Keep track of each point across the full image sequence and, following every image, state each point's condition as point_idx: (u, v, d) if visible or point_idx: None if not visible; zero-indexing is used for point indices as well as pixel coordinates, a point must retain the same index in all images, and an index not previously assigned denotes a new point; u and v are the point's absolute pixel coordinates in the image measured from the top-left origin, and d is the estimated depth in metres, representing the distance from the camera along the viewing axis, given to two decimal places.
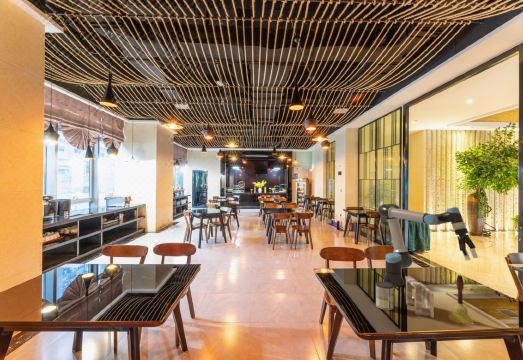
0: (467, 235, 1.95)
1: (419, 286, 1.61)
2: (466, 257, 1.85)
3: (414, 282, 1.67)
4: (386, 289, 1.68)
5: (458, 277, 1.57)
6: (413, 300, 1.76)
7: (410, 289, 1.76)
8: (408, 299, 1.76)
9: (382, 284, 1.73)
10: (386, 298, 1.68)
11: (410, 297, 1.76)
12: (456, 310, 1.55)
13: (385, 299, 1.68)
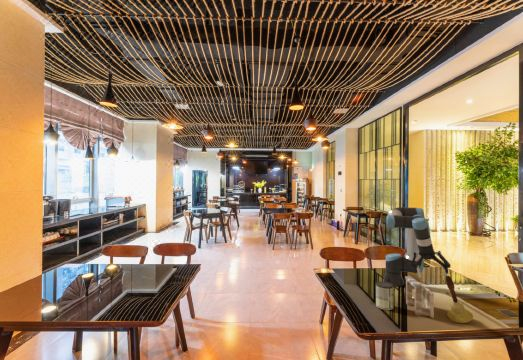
0: (437, 253, 1.55)
1: (419, 286, 1.61)
2: None
3: (414, 282, 1.67)
4: (386, 289, 1.68)
5: (447, 279, 1.53)
6: (413, 300, 1.76)
7: (410, 289, 1.76)
8: (408, 299, 1.76)
9: (382, 284, 1.73)
10: (386, 298, 1.68)
11: (410, 297, 1.76)
12: (454, 310, 1.54)
13: (385, 299, 1.68)
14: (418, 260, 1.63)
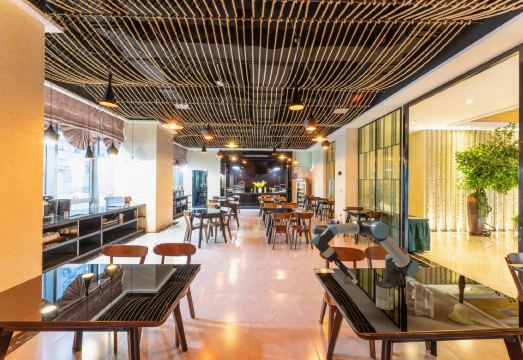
0: (336, 264, 1.74)
1: (419, 286, 1.61)
2: None
3: (414, 282, 1.67)
4: (386, 289, 1.68)
5: (460, 277, 1.57)
6: (413, 300, 1.76)
7: (410, 289, 1.76)
8: (408, 299, 1.76)
9: (382, 284, 1.73)
10: (386, 298, 1.68)
11: (410, 297, 1.76)
12: (456, 310, 1.55)
13: (385, 299, 1.68)
14: None
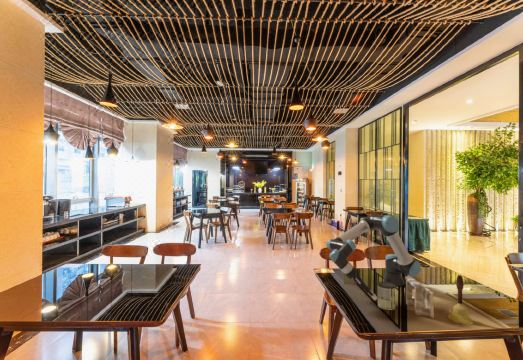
0: (357, 282, 1.71)
1: (419, 286, 1.61)
2: None
3: (414, 282, 1.67)
4: (388, 289, 1.68)
5: (458, 277, 1.57)
6: (413, 300, 1.76)
7: (410, 289, 1.76)
8: (408, 299, 1.76)
9: (384, 284, 1.73)
10: (388, 298, 1.68)
11: (410, 297, 1.76)
12: (455, 310, 1.56)
13: (387, 299, 1.68)
14: None
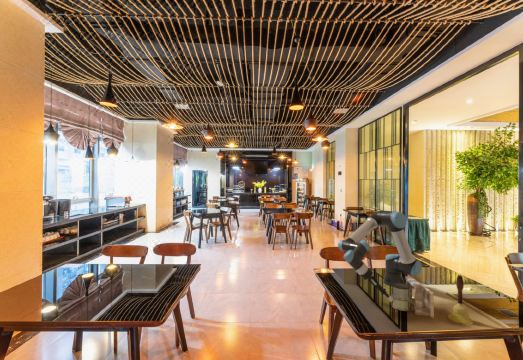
0: (373, 283, 1.69)
1: (419, 286, 1.61)
2: None
3: (414, 282, 1.67)
4: (405, 290, 1.67)
5: (458, 277, 1.57)
6: (413, 300, 1.76)
7: (410, 289, 1.76)
8: None
9: (399, 285, 1.72)
10: (405, 299, 1.67)
11: (410, 297, 1.76)
12: (455, 310, 1.56)
13: (405, 300, 1.67)
14: None
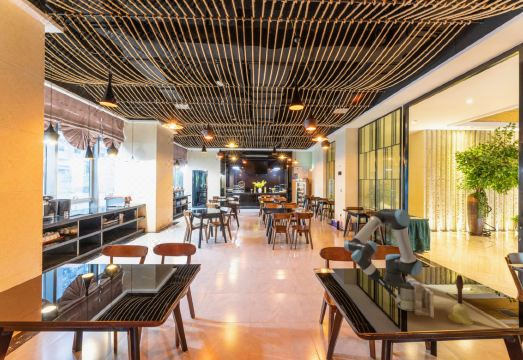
0: (381, 283, 1.68)
1: (419, 286, 1.61)
2: None
3: (414, 282, 1.67)
4: None
5: (457, 277, 1.58)
6: None
7: None
8: None
9: (406, 285, 1.71)
10: (414, 299, 1.67)
11: None
12: (455, 310, 1.56)
13: (413, 300, 1.67)
14: None
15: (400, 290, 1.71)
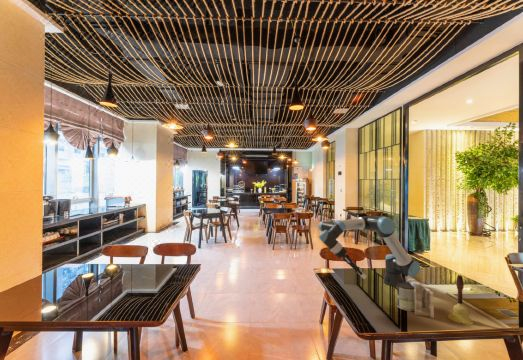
0: (346, 261, 1.73)
1: (419, 286, 1.61)
2: None
3: (414, 282, 1.67)
4: (412, 290, 1.68)
5: (458, 277, 1.57)
6: None
7: None
8: None
9: (405, 285, 1.72)
10: (412, 299, 1.67)
11: None
12: (455, 310, 1.56)
13: (412, 300, 1.67)
14: None
15: (399, 290, 1.72)
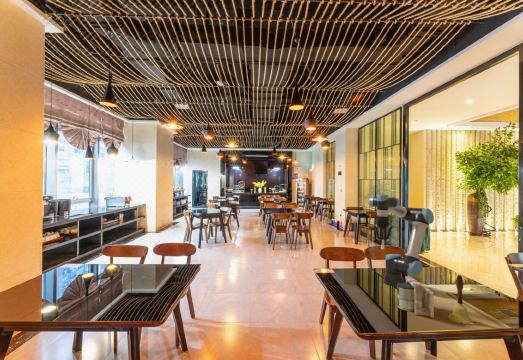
0: (390, 226, 1.93)
1: (419, 286, 1.61)
2: (381, 246, 1.95)
3: (414, 282, 1.67)
4: (412, 290, 1.68)
5: (457, 277, 1.58)
6: None
7: None
8: None
9: (405, 285, 1.72)
10: (412, 299, 1.67)
11: None
12: (455, 310, 1.56)
13: (412, 300, 1.67)
14: (380, 232, 1.95)
15: (399, 290, 1.71)
